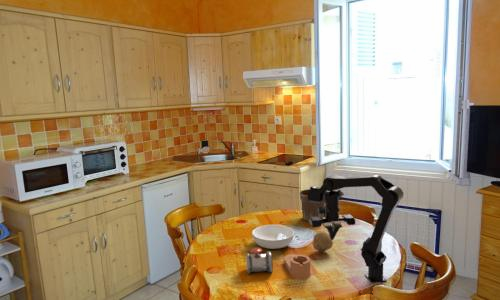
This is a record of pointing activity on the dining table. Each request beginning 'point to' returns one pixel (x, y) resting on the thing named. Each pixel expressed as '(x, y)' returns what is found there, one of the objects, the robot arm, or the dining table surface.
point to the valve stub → (259, 261)
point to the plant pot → (309, 206)
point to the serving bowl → (272, 236)
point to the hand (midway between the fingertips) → (332, 239)
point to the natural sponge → (322, 241)
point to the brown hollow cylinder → (298, 266)
